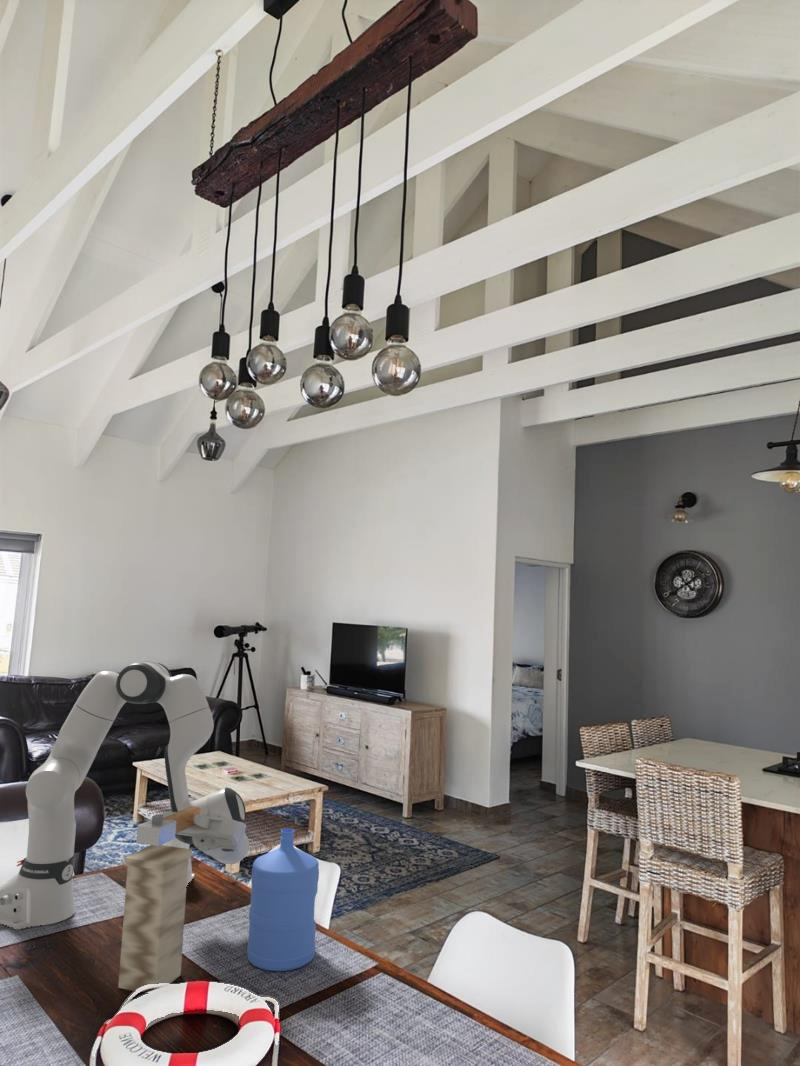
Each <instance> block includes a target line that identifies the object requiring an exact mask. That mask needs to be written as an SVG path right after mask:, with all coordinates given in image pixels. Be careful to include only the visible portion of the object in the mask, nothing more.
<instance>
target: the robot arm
mask: <svg viewBox="0 0 800 1066" xmlns="http://www.w3.org/2000/svg"><path fill="white" fill-rule="evenodd" d="M126 703H130V704H133V705H134V704H135V705H144V704H151V703H157V704H159V705H160V706H162V708H163V709H164V712H165V715H166V718H167V721H168V725H169V731H170V732H169V733H170V735H169V736H170V737H169V742H168V744H167V745H166V746H165V747H164V748H165V749H164V766H165V773H166V774H165V775H166V782H167V789H168V796H169V801H170V810H169V811H168V810H165V811H162V813H161V815H163V818H164V817H167V816H169V815H171V814H174V813H176V812H178V811H181V810H183V809H185V808H188V807H190V806H195V807H200V815H198V814H192V815H191V818H190V822H192V823H194V824H196V825H194V826H192V827H190V828H188V829H185V830H183V831H181V832H179V833H177V834H175V837H176V838H177V839H178V840H180V841H181V842H184V843H187V844H190V845H194V846H195V848H196V849H197V850H199V851H201V852H202V853H204V854H206V855H208V856H210V857H212V859H214V860H216V861H218V862H219V863H221V864H225V865H234V864H238V863H240V862H241V861H242V860H243V859H244V858H246V856H247V854H248V852H249V850H250V840H249V838H248V836H247V834H246V828H247V825H246V820H247V813H246V812H247V811H246V810H247V809H246V806H245V802H244V800H243V799H242V797H241V795H240V794H239V793H238V792H237V791H236V790H234V789H232V788H230V787H227V786H226V787H224V788H221V789H218V790H215V791H213V792H211V793H209V794H207V795H204V796H202V797H200V798H197V799H194V800H191V799H190V797H189V796H190V795H189V790H188V784H187V777H186V767H187V764H188V763H189V760H190V759H192V756H194V755H195V754H196V753H197V752H198V751H199V750H200V749H201V748H202V747H203V746H204V745H206V743H207V742H209V741H208V740H209V739H210V738H211V736H212V734H213V732H214V727H215V723H214V718H213V714H212V711H211V708H210V705H209V701H208V700H207V696H206V695H205V692H204V691H203V689H202V687H201V685H200V684H199V682H198V680H197V678H196V677H195V676H193V675H191V674H186V673H181V674H177V675H174V676H172V672H171V671H170V670H169V669H168V667H167V666H165V664H162V663H160V662H155V661H148V660H147V661H141V662H133V663H130V664H128V665H127V666H125V667H124V668H123V669H121V670H120V672H119V673H117V672H116V671H112V670H102V671H99V672H97V673H96V674H95V675H94V676H93V677H92V678H91V680H89V682H88V683H87V684H86V686H85V687H84V688H83V690H82V691H81V693H80V694H79V696H78V697H77V700H76V701H75V703H74V705H73V707H72V709H70V712H69V714H68V715H67V717H66V719H65V721H64V722H63V724H62V726H61V728H60V729H59V732H58V735H57V738H56V741H54V744H53V747H52V749H51V751H50V753H49V756H48V757H47V759H46V760H45V761H44V763H43V764H41V766H39V767H37V768H36V769H35V770H33V772H32V774H31V775H30V776H29V778H28V781H27V784H26V786H25V797H26V800H27V815H28V839H27V848H26V857H25V858H23V859H21V860H18V861H16V863H17V864H16V867H19V866H21V867H20V868H19V871H18V873H17V874H15V875H14V876H13V877H12V878H10V879H9V880H7V881H6V882H5V883H3V884H2V885H1V886H0V923H1V924H0V925H2V924H4V925H3V926H5V925H7V926H6V927H8V926H10V927H9V928H11V927H13V928H15V929H14V930H22V929H21V928H23V929H26V927H28V928H31V926H32V927H40V925H42V926H47V925H53V924H56V923H60V922H61V921H65V920H67V919H70V918H71V917H72V916H73V915H75V913H76V912H77V909H76V904H75V899H74V898H75V897H74V887H73V886H74V884H73V875H74V871H75V864H76V863H75V862H76V855H75V843H76V842H75V841H76V832H77V831H76V830H77V821H76V818H75V817H76V815H75V793H76V791H78V789H79V788H80V787H81V786H82V784H83V782H84V780H85V779H86V776H87V774H88V773H89V770H90V769H91V766H92V765H93V762H94V760H95V759H96V756H97V754H98V751H99V750H100V747H101V745H102V743H104V740H105V738H106V736H107V735H108V733H109V731H110V729H111V727H112V726H113V723H114V721H115V720H116V718H117V716H118V714H119V712H120V711H121V709H122V708H123V706H124V705H125V704H126ZM13 928H12V929H13Z"/></svg>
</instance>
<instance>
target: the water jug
mask: <svg viewBox="0 0 800 1066" xmlns="http://www.w3.org/2000/svg"><path fill="white" fill-rule="evenodd" d="M280 833H281V834H280V838H279V839H280V845H279V847H278V848H276V849H274V850H272V851H270V852H267V853H264V854H262V855H260V856H258V857H257V858H256V859H254V861H253V863H252V869H251V876H250V877H251V879H250V882H251V888H250V889H251V890H250V906H249V913H248V917H249V918H248V920H249V922H248V923H249V925H248V942H247V943H248V944H247V948H246V956H247V959H248V961H249V962H250V964H252V965H253V966H254V967H255V968H256V967H257V968H258V969H261V970H265V971H270V972H286V971H293V970H297V969H299V968H302V967H304V966H306V965H308V964H309V963H310V962H311V961H312V960H313V958H314V957H315V955H316V944H317V943H316V933H317V932H316V929H317V928H316V927H317V923H316V920H315V903H316V901H315V900H316V897H317V894H318V889H319V887H318V885H319V884H318V883H319V878H320V876H319V875H320V872H319V871H320V870H319V865H320V864H319V861H318V859H317V858H316V857H315V856H313V855H311V854H310V853H307V852H305V851H302V850H300V849H298V848H295V846H294V843H295V837H294V835H295V834H294V833H295V829H294V828H282V829H280Z"/></svg>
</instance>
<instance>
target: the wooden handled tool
mask: <svg viewBox="0 0 800 1066" xmlns="http://www.w3.org/2000/svg"><path fill="white" fill-rule="evenodd" d="M192 814H198V815H200V807H195V806H190V807H188V808H185V809H183V810H181V811H178V812H176V813H174V814H171V815H169V816H167V817H164V818H163V815H162V814H159V813H157V814H154V815H152V816H151V819H150V820H146V821H144V822H141V823H139V824H137V829H136V840H135V843H136V844H140V845H141V844H142V845H148V846H150V845H153V846H160V845H162V844H164V843H166V842H168V841H170V840H172V839H174V838H175V834H177V833H179V832H181V831H183V830H185V829H188V828H190V827H192V826H194V825H196V824H194V823H192V822H190V818H191V815H192Z"/></svg>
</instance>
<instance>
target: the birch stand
mask: <svg viewBox="0 0 800 1066" xmlns="http://www.w3.org/2000/svg"><path fill="white" fill-rule="evenodd" d="M191 857H193V849H191V848H189V849H185V848H178V847H171V846H164V845H160V846H153V845H148V846H146V847H144V848H142V849H140V850H138V851H136V852H134V853H131V854H130V855H127V856H125V857H124V862H123V864H124V866H127V869H126V871H127V872H126V881H125V883H126V884H125V895H124V908H123V909H124V911H123V921H122V923H123V924H122V936H121V944H120V945H121V949H120V962H119V972H118V985H117V986H118V987H117V989H118V988H119V989H123V990H126V991H133V992H135V991H134V990H136V989H137V988H139V987H141V986H144V985H147V984H159V983H170V984H171V983H173V982H174V981H175V980H176V979H177V978H179V977H180V976H181V974H182V959H183V958H182V956H183V944H184V942H183V941H184V930H185V914H186V913H185V912H186V900H187V888H188V886H187V873H188V858H191ZM186 887H187V888H186Z"/></svg>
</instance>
